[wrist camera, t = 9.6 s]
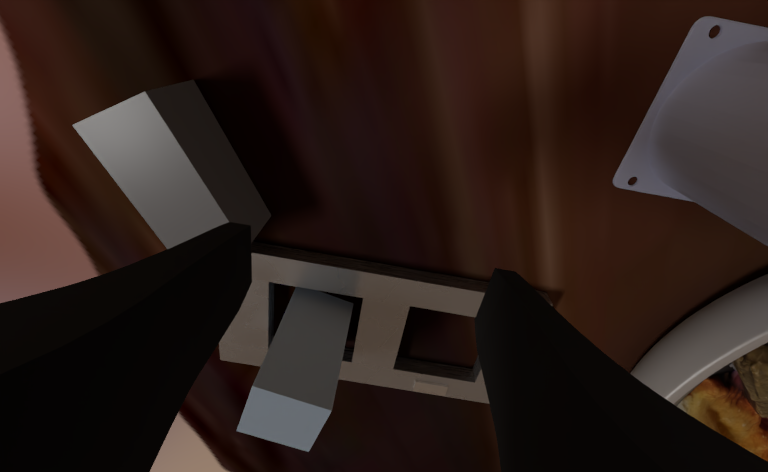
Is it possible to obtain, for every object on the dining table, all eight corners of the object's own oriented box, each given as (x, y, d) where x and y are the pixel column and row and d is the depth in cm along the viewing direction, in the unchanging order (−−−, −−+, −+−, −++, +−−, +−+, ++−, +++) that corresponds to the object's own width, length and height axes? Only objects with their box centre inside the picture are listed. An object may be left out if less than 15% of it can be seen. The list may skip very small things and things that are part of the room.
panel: (546, 292, 23) (554, 306, 22) (496, 391, 28) (500, 407, 27) (219, 235, 22) (208, 247, 21) (227, 347, 27) (219, 362, 26)
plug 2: (353, 303, 25) (331, 410, 18) (334, 341, 27) (308, 451, 20) (297, 283, 24) (252, 385, 17) (282, 323, 26) (236, 430, 19)
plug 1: (133, 107, 19) (72, 125, 16) (195, 79, 18) (144, 91, 15) (217, 232, 23) (182, 269, 19) (272, 214, 22) (246, 249, 18)
